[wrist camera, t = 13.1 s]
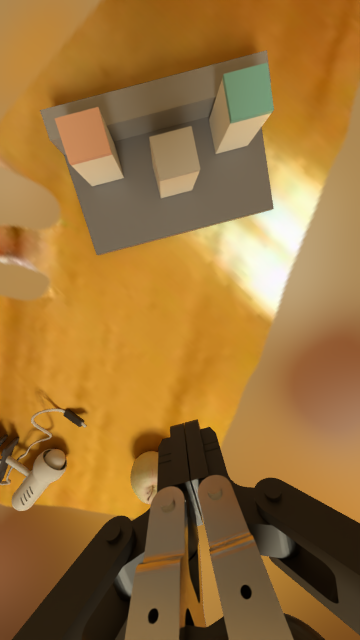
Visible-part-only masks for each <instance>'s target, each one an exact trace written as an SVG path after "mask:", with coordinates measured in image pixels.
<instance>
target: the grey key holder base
mask: <svg viewBox="0 0 360 640" xmlns="http://www.w3.org/2000/svg"><path fill="white" fill-rule="evenodd" d="M267 62H268V57H267V50H266V51H263V52H259V53H255V54H251V55H247V56H244V57H240V58H236V59H232V60H229V61H225V62H221V63H217V64H213V65H210V66H206V67H202V68H198V69H195V70H191V71H187V72H183V73H179V74H176V75H172V76H168V77H164V78H160V79H157V80H153V81H149V82H145V83H142V84H138V85H134V86H130V87H126V88H123V89H119V90H115V91H111V92H107V93H104V94H100V95H96V96H92V97H89V98H85V99H81V100H77V101H73V102H70V103H66V104H62V105H58V106H55V107H51V108H47V109H43V110H40V112H41V114H42V117H43V120H44V123H45V126H46V129H47V132H48V135H49V138H50V141H51V142H52V143H53V144H54V145H55V146H56V147H57V148H58V149H59V150H60V151H61V152H62V153H63V154H64V156H65V159H66V162H67V165H68V168H69V171H70V175H71V178H72V181H73V184H74V187H75V190H76V193H77V196H78V199H79V202H80V205H81V208H82V211H83V214H84V217H85V220H86V223H87V226H88V229H89V232H90V236H91V239H92V242H93V245H94V248H95V251H96V254H97V255H102V254H105V253H109V252H113V251H117V250H121V249H124V248H128V247H132V246H136V245H140V244H143V243H147V242H151V241H155V240H159V239H162V238H166V237H170V236H174V235H178V234H181V233H185V232H189V231H193V230H197V229H201V228H204V227H208V226H212V225H216V224H220V223H223V222H227V221H231V220H235V219H239V218H242V217H246V216H250V215H254V214H258V213H261V212H265V211H269V210H272V209H273V202H272V195H271V188H270V182H269V175H268V168H267V161H266V154H265V148H264V141H263V134H262V127H261V128H260V129H259V131H258V132H257V133H256V135H255V136H254V137H253V139H252V140H251V142H250V143H249V144H248V146H244V147H241V148H237V149H233V150H229V151H225V152H222V153H218V154H215V149H214V143H213V138H212V133H211V128H210V123H209V118H210V115H211V112H212V109H213V106H214V103H215V100H216V97H217V93H218V90H219V87H220V84H221V81H222V78H223V75H224V74H226V73H230V72H233V71H237V70H241V69H245V68H249V67H252V66H256V65H260V64H264V63H267ZM268 70H269V65H268ZM269 77H270V72H269ZM270 83H271V79H270ZM96 107H99V110H100V112H101V114H102V117H103V119H104V121H105V124H106V126H107V128H108V130H109V133H110V135H111V137H112V140H113V142H114V144H115V148H116V151H117V155H118V158H119V162H120V165H121V169H122V173H123V176H124V178H122V179H118V180H114V181H111V182H107V183H103V184H99V185H95V186H91V185H90V184H89V183H88V182H87V181H86V180H85V179H84V178H83V177H82V176H81V175H80V174H79V173H78V172H77V171H76V170H75V169H74V168H73V167H72V166H71V165H70V164H69V161H68V158H67V155H66V152H65V149H64V146H63V143H62V140H61V137H60V134H59V131H58V128H57V125H56V121H55V118H58V117H62V116H65V115H69V114H73V113H77V112H81V111H84V110H88V109H92V108H96ZM189 126H192V131H193V136H194V141H195V146H196V150H197V155H198V160H199V165H200V171H199V174H198V176H197V179H196V181H195V184H194V186H193V189H192V190H191V191H187V192H183V193H180V194H176V195H172V196H168V197H164V198H161V197H160V193H159V189H158V185H157V181H156V177H155V173H154V169H153V164H152V156H151V148H150V140H149V137H151V136H155V135H159V134H163V133H166V132H170V131H174V130H178V129H182V128H185V127H189Z"/></svg>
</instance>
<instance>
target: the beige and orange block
mask: <svg viewBox="0 0 360 640" xmlns="http://www.w3.org/2000/svg"><path fill="white" fill-rule="evenodd" d="M55 121H56V125H57V128H58V131H59V134H60V137H61V140H62V143H63V146H64V149H65V152H66V155H67V158H68V161H69V164H70V165H71V166H72V167H73V168H74V169H75V170H76V171H77V172H78V173H79V174H80V175H81V176H82V177H83V178H84V179H85V180H86V181H87V182H88V183H89V184H90V185H91V186H95V185H99V184H103V183H107V182H111V181H114V180H118V179H122V178H124V176H123V173H122V169H121V165H120V162H119V158H118V155H117V151H116V148H115V144H114V142H113V140H112V137H111V135H110V133H109V130H108V128H107V126H106V124H105V121H104V119H103V117H102V114H101V112H100V110H99V107H96V108H92V109H88V110H84V111H81V112H77V113H73V114H69V115H65V116H62V117H58V118H55Z"/></svg>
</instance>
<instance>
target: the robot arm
mask: <svg viewBox="0 0 360 640" xmlns="http://www.w3.org/2000/svg"><path fill="white" fill-rule="evenodd" d="M201 514H202V515H201ZM202 518H203V521H204V524H205V529H206V533H207V538H208V542H209V547H210V549H209V550H210V556H211V561H212V565H213V570H214V574H215V578H216V583H217V588H218V592H219V597H220V601H221V606H222V610H223V615H224V616H223V617H222V618H221V619H219V620H218V621H216V622H215V623H213V624H212V625H210V626H209V627H206V622H205V617H204V608H203V590H202V573H201V558H200V557H201V556H200V545H199V538H198V529H197V526H199V525H203V522H202ZM261 555H263V556H269V558H270V559H271V561H272V562H273V563H274V564H275V565H276V566H278V567H279V568H280V569H281V570H282V571H284V572H285V573H286V574H287V575H288V576H290V577H291V578H292V579H293V580H294V581H295V582H297V583H298V584H299V585H300V586H301V587H303V588H304V589H305V590H306V591H307V592H309V593H310V594H311V595H312V596H313V597H315V598H316V599H317V600H318V601H319V602H321V603H322V604H323V605H324V606H325V607H327V608H328V609H329V610H330V611H331V612H333V613H334V614H335V615H336V616H337V617H339V618H340V619H341V620H342V621H343V622H344V623H346V624H347V625H348V626H349V627H350V628H352V629H353V630H354V631H355V632H356V633H358V634H359V635H360V523H358V522H356V521H355V520H353V519H351V518H349V517H347V516H345V515H344V514H342V513H340V512H338V511H336V510H334V509H333V508H331V507H329V506H327V505H325V504H324V503H322V502H320V501H318V500H316V499H314V498H313V497H311V496H309V495H307V494H305V493H304V492H302V491H300V490H298V489H296V488H294V487H293V486H291V485H289V484H287V483H285V482H283V481H282V480H279V479H276V478H266V479H263V480H261V481H259V482H258V483H257V485H256V486H255V488H251V487H242V486H239V485H237V484H235V483H234V482H233V481H232V480H231V479H230V478H229V476H228V473H227V470H226V467H225V463H224V460H223V456H222V453H221V450H220V446H219V443H218V439H217V436H216V433H215V432H214V431H213V430H212V429H211V428H210V427H208V428H204V429H200V426H199V422H198V419H197V420H193V421H190V422H186V423H185V425H184V423H182V424H178V425H174V426H171V427H170V438H166V439H162V441H161V444H160V446H159V448H158V476H157V494H156V495H155V496H154V498H153V500H152V502H151V507H150V508H149V510H148V511H146V512H145V513H144V514H142V515H141V516H139V517H138V518H136V519H134V520H133V521H131V520H130V519H129V518H128V517H126V516H117V517H114V518H112V519H111V520H109V521H108V522H107V523H106V524H105V525H104V526H103V527H102V528H101V529H100V531H99V532H98V533H97V534H96V536H95V537H94V538H93V539H92V541H91V542H90V543H89V544H88V546H87V547H86V548H85V549H84V551H83V552H82V553H81V554H80V556H79V557H78V558H77V559H76V561H75V562H74V563H73V564H72V565H71V567H70V568H69V569H68V571H67V572H66V573H65V574H64V576H63V577H62V578H61V579H60V581H59V582H58V583H57V584H56V585H55V587H54V588H53V589H52V590H51V592H50V593H49V594H48V595H47V597H46V598H45V599H44V600H43V602H42V603H41V604H40V605H39V607H38V608H37V609H36V610H35V612H34V613H33V614H32V615H31V617H30V618H29V619H28V621H26V623H25V624H24V625H23V626H22V628H21V629H20V630H19V632H18V633H17V634H16V635H15V636H14V638H13V639H12V640H325V639H324V638H323V637H321V635H320V634H319V633H317V632H316V631H315V630H314V629H312V628H311V627H310V626H309V625H307V624H305V623H304V622H302V621H301V620H299V619H297V618H295V617H293V616H291V615H288V614H285V613H283V611H282V609H281V606H280V604H279V601H278V598H277V596H276V593H275V591H274V588H273V586H272V583H271V581H270V578H269V575H268V573H267V570H266V568H265V565H264V563H263V560H262V558H261Z"/></svg>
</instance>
